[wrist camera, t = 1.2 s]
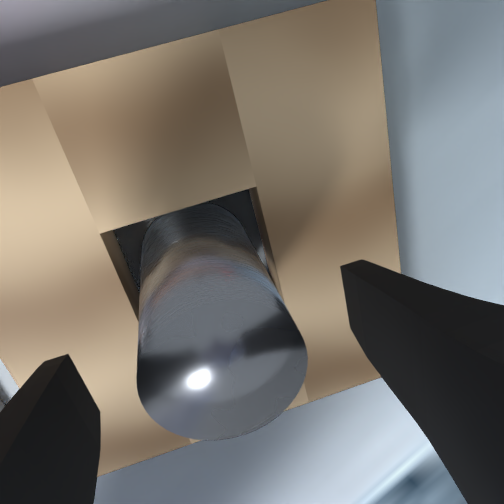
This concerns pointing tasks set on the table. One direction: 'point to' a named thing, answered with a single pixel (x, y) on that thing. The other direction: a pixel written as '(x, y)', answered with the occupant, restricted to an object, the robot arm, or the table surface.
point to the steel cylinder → (212, 329)
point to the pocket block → (194, 194)
